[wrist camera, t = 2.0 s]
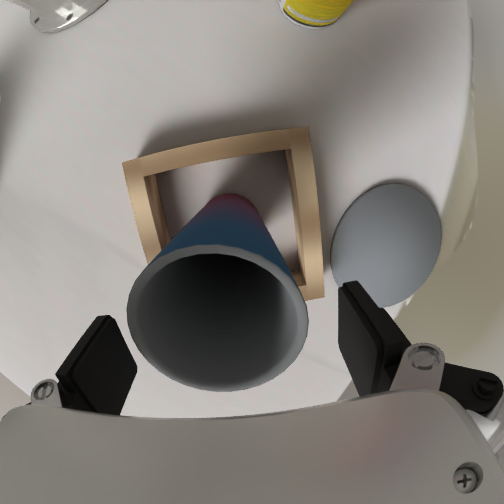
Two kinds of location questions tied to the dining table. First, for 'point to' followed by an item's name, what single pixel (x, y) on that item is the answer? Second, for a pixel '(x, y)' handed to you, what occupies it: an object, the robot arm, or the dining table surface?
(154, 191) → the socket
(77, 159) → the dining table surface
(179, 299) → the cup
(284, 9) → the supplement bottle
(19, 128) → the dining table surface
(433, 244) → the disc
